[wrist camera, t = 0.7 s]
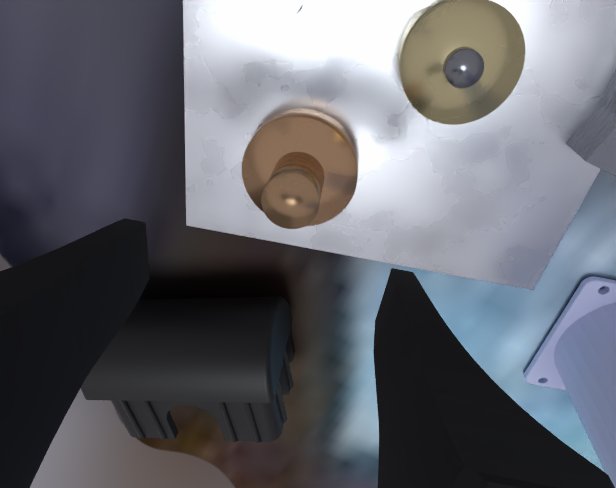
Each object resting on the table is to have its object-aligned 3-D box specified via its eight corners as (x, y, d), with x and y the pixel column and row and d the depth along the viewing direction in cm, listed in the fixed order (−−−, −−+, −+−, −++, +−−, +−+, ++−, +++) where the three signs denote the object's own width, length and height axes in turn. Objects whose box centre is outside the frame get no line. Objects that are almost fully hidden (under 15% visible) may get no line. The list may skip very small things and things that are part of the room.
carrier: (835, -296, 12) (1020, -399, 8) (527, 278, 23) (554, 331, 19) (190, -396, 12) (122, -533, 9) (192, 215, 23) (163, 257, 20)
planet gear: (369, 119, 18) (369, 154, 15) (346, 220, 21) (342, 268, 18) (253, 98, 18) (228, 128, 15) (245, 201, 21) (222, 245, 18)
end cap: (287, 266, 24) (261, 357, 19) (303, 355, 28) (286, 453, 22) (124, 272, 26) (56, 356, 20) (160, 355, 30) (111, 447, 24)
